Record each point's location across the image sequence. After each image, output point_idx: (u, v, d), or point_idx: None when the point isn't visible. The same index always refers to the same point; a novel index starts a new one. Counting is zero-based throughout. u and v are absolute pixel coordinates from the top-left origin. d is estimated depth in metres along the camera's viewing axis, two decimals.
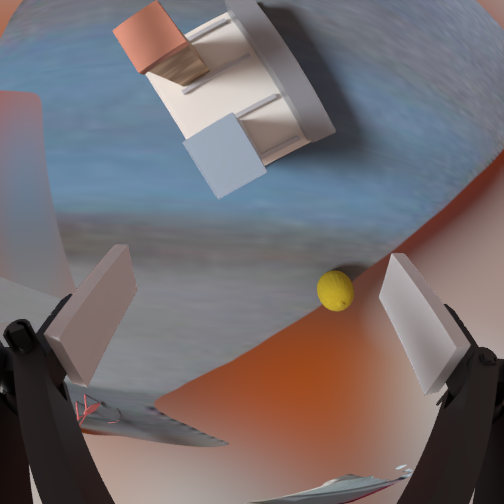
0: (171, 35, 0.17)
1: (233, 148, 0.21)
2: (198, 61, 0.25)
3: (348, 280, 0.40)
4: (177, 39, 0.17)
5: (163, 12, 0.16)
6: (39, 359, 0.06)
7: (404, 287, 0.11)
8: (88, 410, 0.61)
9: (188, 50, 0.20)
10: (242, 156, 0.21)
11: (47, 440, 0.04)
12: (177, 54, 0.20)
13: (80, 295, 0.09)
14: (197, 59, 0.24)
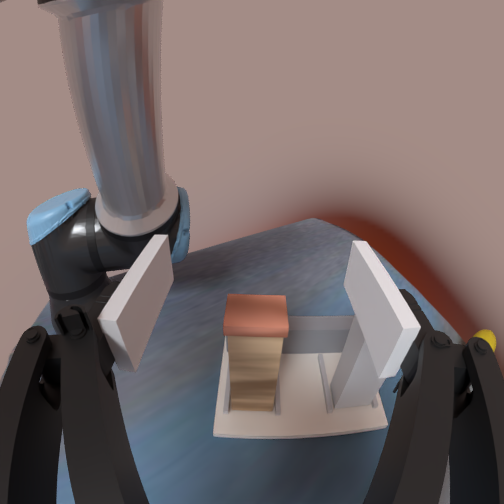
0: (272, 299, 0.27)
1: None
2: None
3: None
4: (279, 298, 0.27)
5: (245, 295, 0.28)
6: (91, 347, 0.07)
7: (362, 272, 0.12)
8: None
9: None
10: None
11: (90, 431, 0.05)
12: None
13: (130, 281, 0.10)
14: None
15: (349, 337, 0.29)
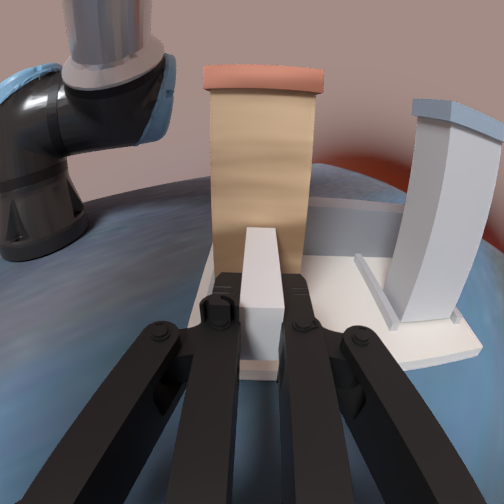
0: None
1: None
2: None
3: None
4: None
5: None
6: (234, 343, 0.08)
7: None
8: None
9: None
10: None
11: (212, 433, 0.05)
12: None
13: (253, 270, 0.11)
14: None
15: (414, 173, 0.16)
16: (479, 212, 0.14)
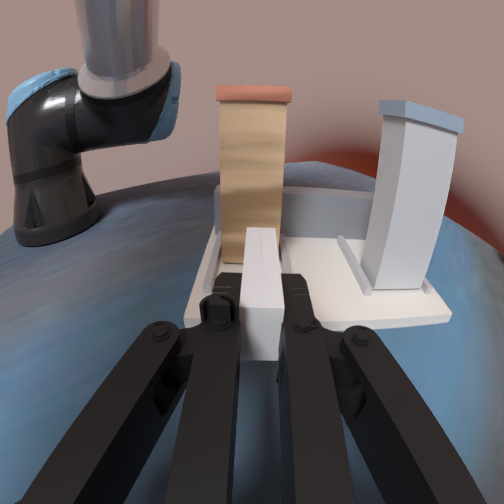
0: None
1: None
2: None
3: None
4: None
5: None
6: (234, 343, 0.08)
7: None
8: None
9: None
10: None
11: (212, 433, 0.05)
12: None
13: (253, 270, 0.11)
14: None
15: (381, 162, 0.21)
16: (438, 192, 0.18)
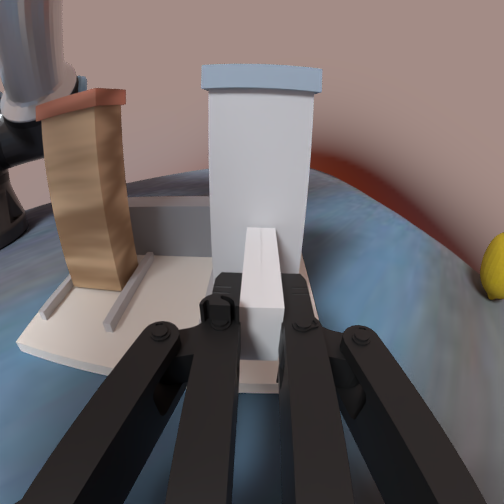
0: None
1: None
2: (125, 192, 0.21)
3: (487, 248, 0.21)
4: None
5: None
6: (234, 343, 0.08)
7: None
8: None
9: (120, 130, 0.18)
10: None
11: (212, 433, 0.05)
12: (114, 122, 0.17)
13: (253, 270, 0.11)
14: (124, 182, 0.20)
15: None
16: (287, 189, 0.14)
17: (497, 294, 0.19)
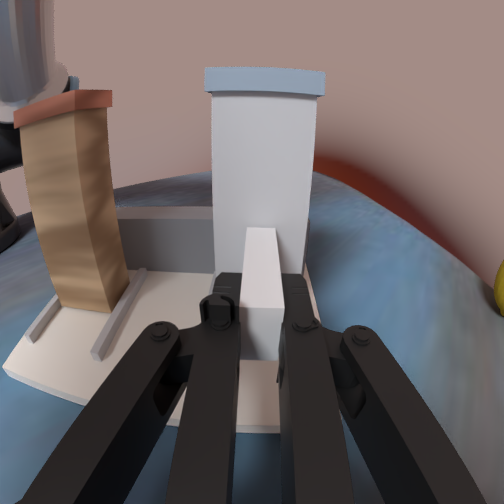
0: None
1: None
2: (113, 205, 0.19)
3: None
4: None
5: None
6: (234, 343, 0.08)
7: None
8: None
9: (106, 135, 0.16)
10: None
11: (212, 433, 0.05)
12: (99, 127, 0.15)
13: (253, 270, 0.11)
14: (112, 193, 0.18)
15: None
16: (290, 193, 0.14)
17: None
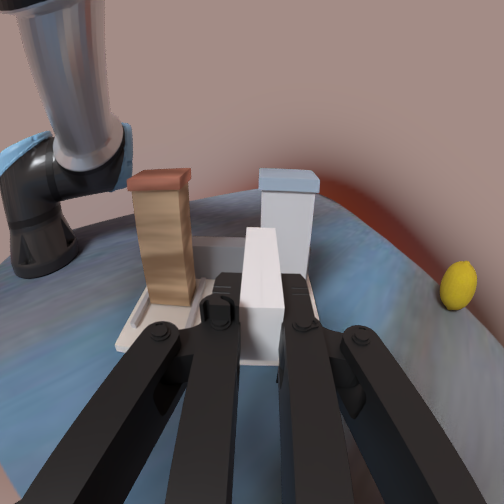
0: (177, 169, 0.29)
1: (284, 171, 0.28)
2: (191, 239, 0.33)
3: None
4: (184, 169, 0.29)
5: (157, 169, 0.29)
6: (234, 343, 0.08)
7: None
8: None
9: (188, 197, 0.31)
10: (293, 171, 0.28)
11: (212, 433, 0.05)
12: (186, 194, 0.29)
13: (253, 270, 0.11)
14: (190, 232, 0.32)
15: None
16: (300, 240, 0.28)
17: (451, 306, 0.31)
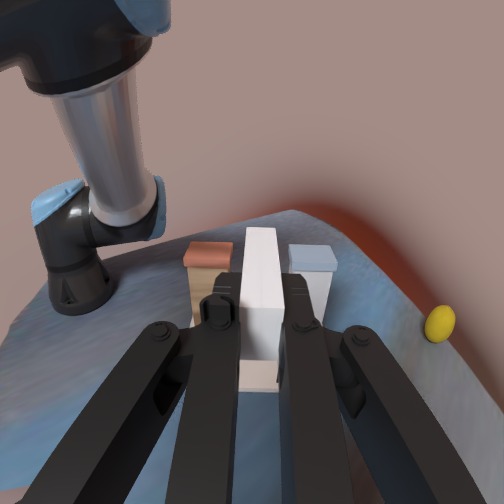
0: (222, 244, 0.37)
1: (309, 249, 0.36)
2: None
3: None
4: (227, 243, 0.37)
5: (203, 242, 0.37)
6: (234, 343, 0.08)
7: None
8: None
9: (230, 265, 0.39)
10: (316, 248, 0.37)
11: (212, 433, 0.05)
12: None
13: (253, 270, 0.11)
14: None
15: None
16: (319, 302, 0.37)
17: (432, 341, 0.39)
